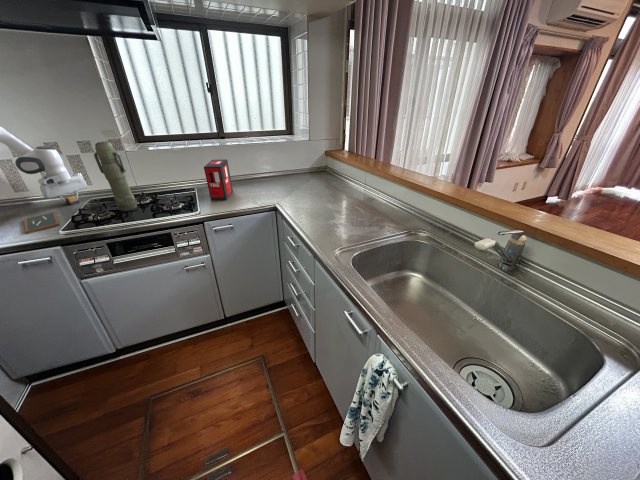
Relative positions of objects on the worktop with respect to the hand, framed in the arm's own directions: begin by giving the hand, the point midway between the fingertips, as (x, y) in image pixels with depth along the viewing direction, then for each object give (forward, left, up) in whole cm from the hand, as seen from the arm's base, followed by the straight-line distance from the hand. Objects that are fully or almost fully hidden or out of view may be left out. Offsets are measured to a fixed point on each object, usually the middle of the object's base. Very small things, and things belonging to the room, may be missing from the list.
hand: (71, 200), depth 154 cm
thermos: (+37, +9, -2) cm, 38 cm away
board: (+16, -21, -2) cm, 26 cm away
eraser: (0, 0, -2) cm, 2 cm away
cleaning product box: (+71, +46, -2) cm, 85 cm away
